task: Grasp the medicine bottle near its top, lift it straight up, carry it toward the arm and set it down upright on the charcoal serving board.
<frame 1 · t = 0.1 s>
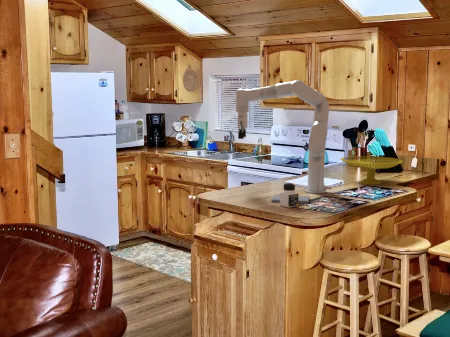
hand: (242, 138, 360), 31 cm above the countertop, tool pointing down, fingers open, 9 cm apart
medicine bottle: (288, 206, 316), on the countertop
serving board: (290, 200, 330), on the countertop
cake stand: (370, 182, 391), on the countertop
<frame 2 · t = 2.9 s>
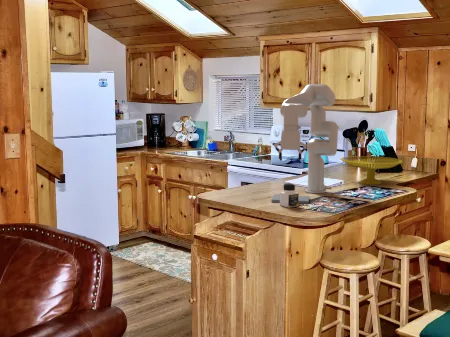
hand: (289, 160, 313), 24 cm above the countertop, tool pointing down, fingers open, 9 cm apart
nothing on the countertop moved.
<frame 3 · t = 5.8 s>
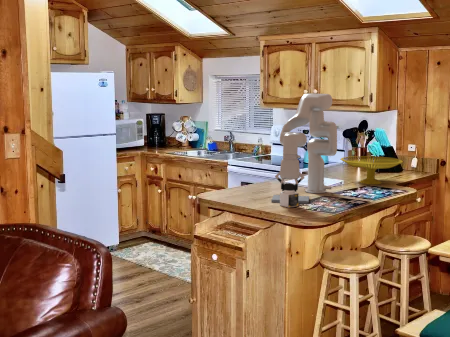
hand: (289, 190, 315), 8 cm above the countertop, tool pointing down, fingers closed on medicine bottle, 6 cm apart
medicine bottle: (288, 206, 316), on the countertop, touching gripper
everything else where it was.
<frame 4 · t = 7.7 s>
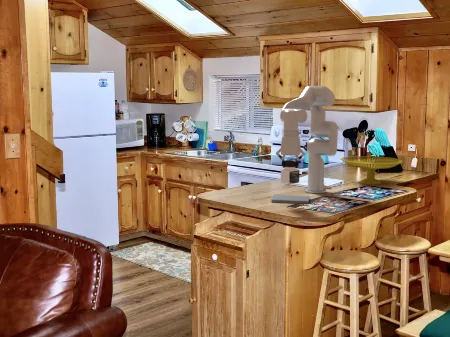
hand: (290, 167, 314), 21 cm above the countertop, tool pointing down, fingers closed on medicine bottle, 6 cm apart
medicine bottle: (289, 183, 315), point 12 cm above the countertop, touching gripper
everything else where it was.
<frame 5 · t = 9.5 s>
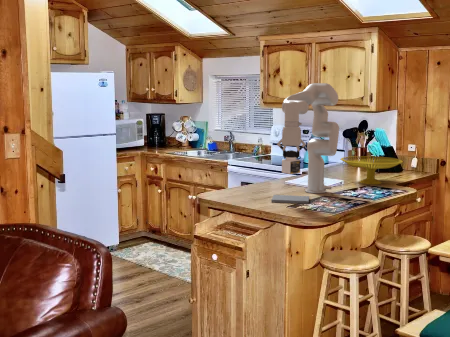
hand: (291, 157, 319), 25 cm above the countertop, tool pointing down, fingers closed on medicine bottle, 6 cm apart
medicine bottle: (290, 173, 321), point 16 cm above the countertop, touching gripper
everything else where it was.
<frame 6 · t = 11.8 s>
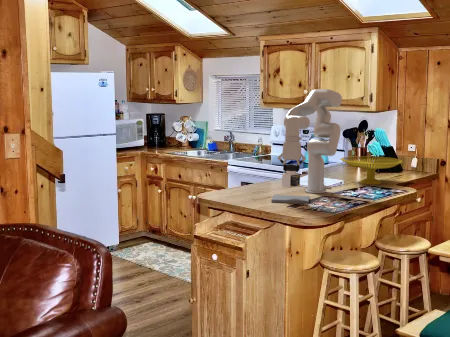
hand: (291, 171, 327), 16 cm above the countertop, tool pointing down, fingers closed on medicine bottle, 6 cm apart
medicine bottle: (290, 186, 329), point 8 cm above the countertop, touching gripper
everything else where it was.
when the fingers open (11 cm above the countertop, at t = 13.6 s): medicine bottle drops 2 cm, resting on serving board.
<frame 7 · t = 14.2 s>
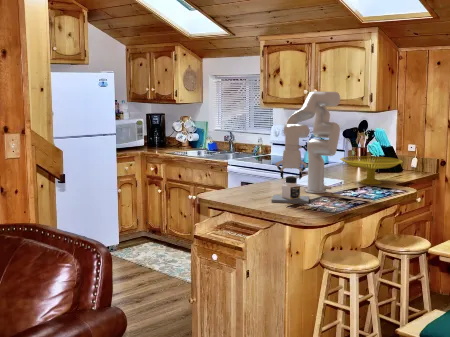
hand: (291, 178, 328), 12 cm above the countertop, tool pointing down, fingers open, 9 cm apart
medicine bottle: (290, 198, 330), point 1 cm above the countertop, touching serving board
everything else where it was.
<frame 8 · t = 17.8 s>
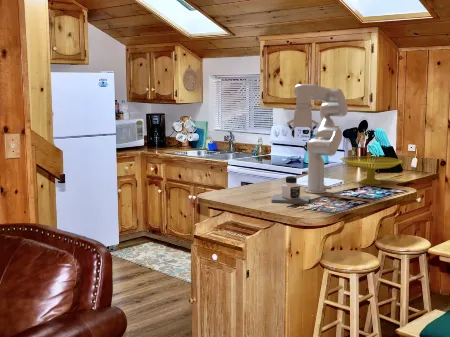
hand: (302, 137, 334), 34 cm above the countertop, tool pointing down, fingers open, 9 cm apart
nothing on the countertop moved.
at the end: medicine bottle inside the target area on the serving board (0.2 cm from its centre), point 1.3 cm above the serving board's base; medicine bottle tilted 0°; the gripper is holding nothing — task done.
